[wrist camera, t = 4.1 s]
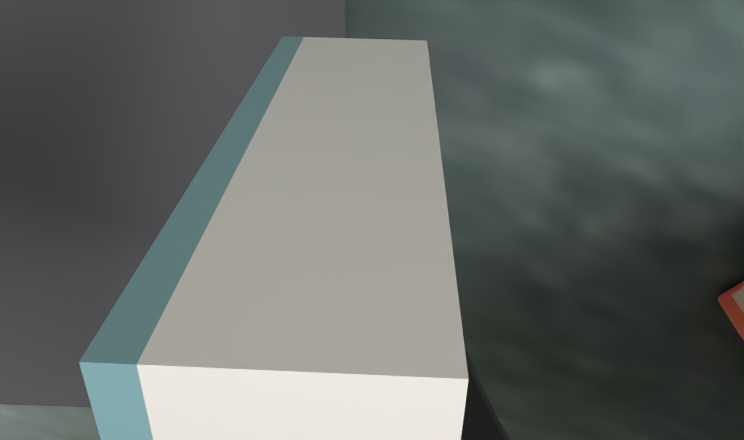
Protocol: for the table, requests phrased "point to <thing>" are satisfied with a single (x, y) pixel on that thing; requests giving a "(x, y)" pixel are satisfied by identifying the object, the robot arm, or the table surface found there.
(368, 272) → the card deck
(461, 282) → the table surface
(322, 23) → the mat
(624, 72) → the table surface
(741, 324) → the cracker box
